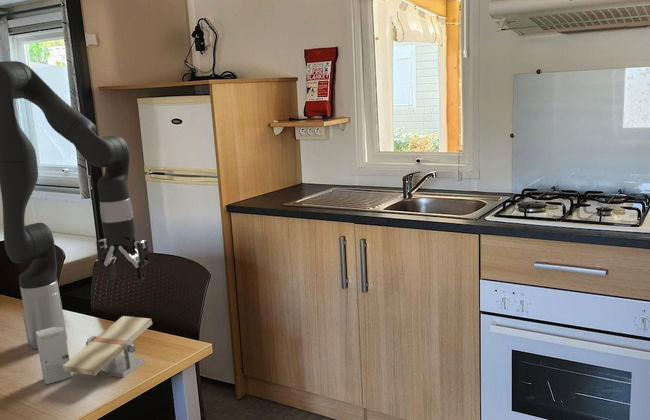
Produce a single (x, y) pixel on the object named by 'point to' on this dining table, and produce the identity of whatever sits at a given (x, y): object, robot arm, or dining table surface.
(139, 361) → the pivot stand
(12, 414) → the dining table surface
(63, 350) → the skincare box
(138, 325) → the balance beam
